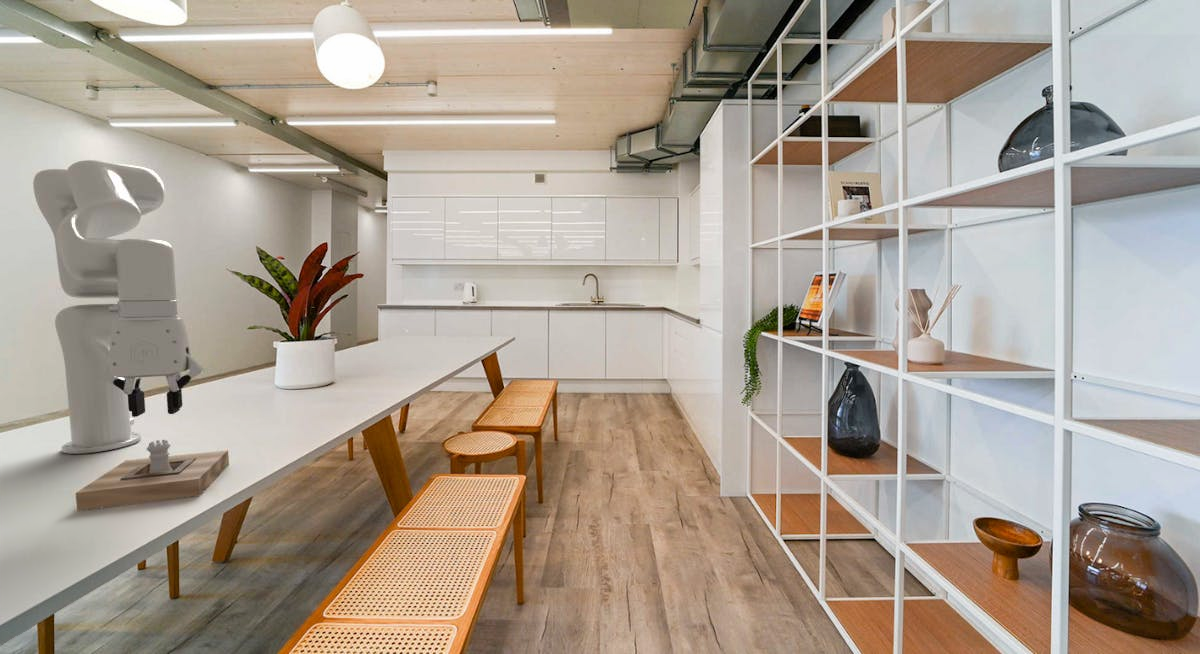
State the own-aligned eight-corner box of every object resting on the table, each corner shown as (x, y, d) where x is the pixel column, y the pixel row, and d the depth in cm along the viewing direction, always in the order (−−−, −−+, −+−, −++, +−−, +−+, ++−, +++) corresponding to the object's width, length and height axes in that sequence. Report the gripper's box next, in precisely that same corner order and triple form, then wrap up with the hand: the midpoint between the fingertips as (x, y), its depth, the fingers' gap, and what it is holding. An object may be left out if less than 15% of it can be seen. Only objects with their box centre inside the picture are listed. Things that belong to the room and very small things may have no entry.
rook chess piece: (158, 491, 88) (154, 446, 87) (137, 489, 89) (134, 444, 88) (183, 481, 92) (181, 439, 92) (164, 479, 93) (161, 437, 92)
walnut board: (127, 475, 95) (125, 458, 95) (229, 464, 101) (228, 448, 101) (77, 511, 80) (75, 491, 80) (199, 495, 86) (198, 477, 86)
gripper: (73, 313, 81) (82, 423, 83) (200, 311, 88) (206, 414, 89) (98, 310, 88) (106, 413, 90) (214, 309, 94) (220, 405, 96)
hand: (156, 412), depth 89 cm, fingers open, 4 cm apart
